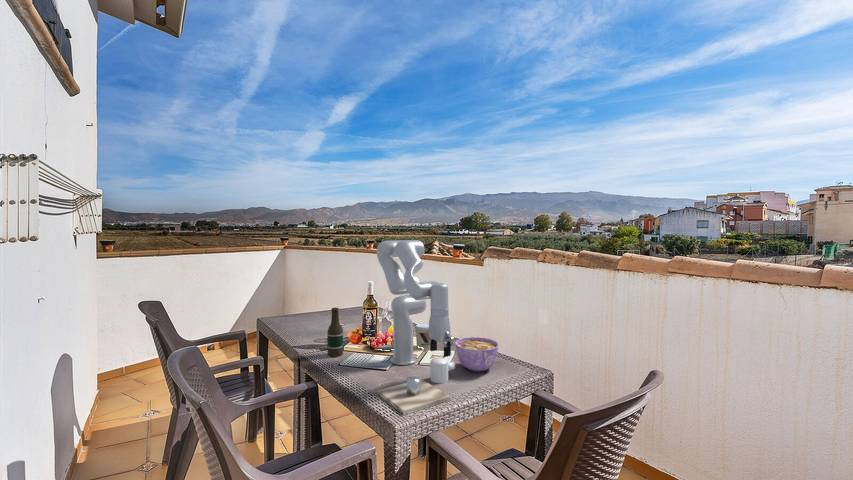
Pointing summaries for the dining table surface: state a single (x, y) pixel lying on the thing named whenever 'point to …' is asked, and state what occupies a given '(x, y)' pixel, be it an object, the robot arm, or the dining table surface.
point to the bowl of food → (476, 352)
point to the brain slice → (384, 347)
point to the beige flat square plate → (413, 395)
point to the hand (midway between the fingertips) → (440, 353)
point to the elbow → (440, 370)
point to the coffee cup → (422, 335)
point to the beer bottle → (335, 335)
